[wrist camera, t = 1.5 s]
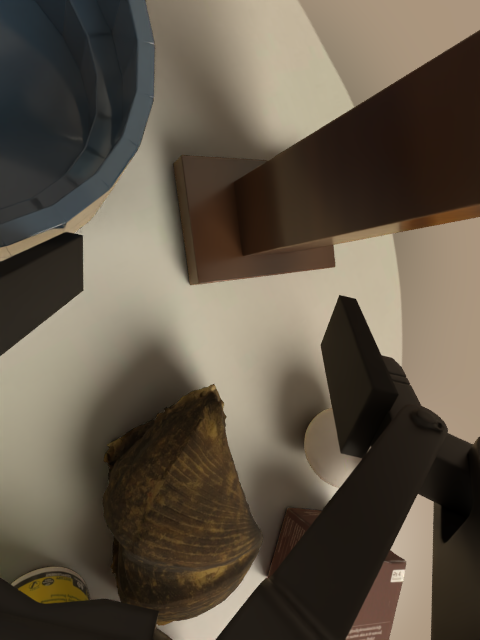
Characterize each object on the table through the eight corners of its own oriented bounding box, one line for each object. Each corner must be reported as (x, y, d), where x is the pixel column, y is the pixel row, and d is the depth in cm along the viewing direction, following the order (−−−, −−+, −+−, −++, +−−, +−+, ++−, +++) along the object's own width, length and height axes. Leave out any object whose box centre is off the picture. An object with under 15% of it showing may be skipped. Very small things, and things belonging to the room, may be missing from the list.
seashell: (241, 579, 27) (276, 676, 20) (117, 613, 24) (108, 735, 18) (234, 367, 25) (269, 395, 19) (100, 380, 23) (84, 417, 16)
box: (263, 579, 28) (328, 661, 22) (285, 504, 29) (354, 561, 23) (317, 579, 31) (388, 650, 25) (336, 510, 32) (409, 562, 26)
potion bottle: (289, 403, 29) (397, 447, 20) (354, 393, 32) (469, 427, 24) (288, 475, 29) (393, 550, 20) (352, 458, 33) (465, 515, 24)
